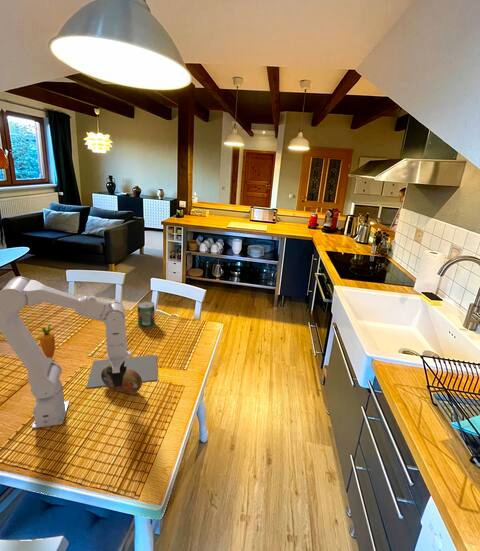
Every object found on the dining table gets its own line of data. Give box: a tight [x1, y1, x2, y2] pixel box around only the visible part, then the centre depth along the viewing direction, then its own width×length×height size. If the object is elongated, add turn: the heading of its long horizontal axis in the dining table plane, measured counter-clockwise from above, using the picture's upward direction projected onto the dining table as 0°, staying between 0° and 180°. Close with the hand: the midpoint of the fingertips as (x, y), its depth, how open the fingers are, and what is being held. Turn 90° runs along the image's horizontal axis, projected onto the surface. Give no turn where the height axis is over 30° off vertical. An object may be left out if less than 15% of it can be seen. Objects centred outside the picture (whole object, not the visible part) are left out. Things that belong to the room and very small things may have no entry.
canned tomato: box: [136, 300, 156, 330], centre depth 150 cm, size 8×8×11 cm
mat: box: [86, 354, 159, 389], centre depth 118 cm, size 16×24×1 cm, turn 106°
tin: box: [101, 365, 143, 395], centre depth 107 cm, size 15×3×8 cm, turn 73°
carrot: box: [39, 324, 56, 360], centre depth 119 cm, size 5×5×15 cm
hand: (119, 377), depth 100 cm, fingers open, 7 cm apart
